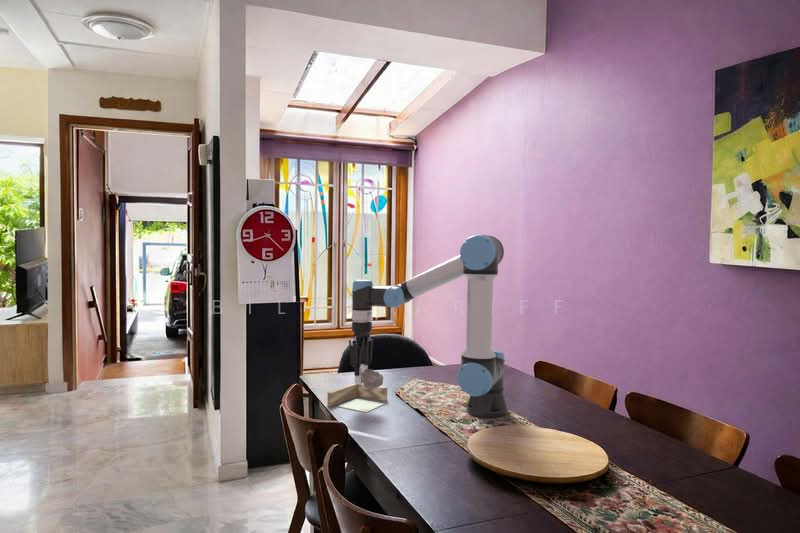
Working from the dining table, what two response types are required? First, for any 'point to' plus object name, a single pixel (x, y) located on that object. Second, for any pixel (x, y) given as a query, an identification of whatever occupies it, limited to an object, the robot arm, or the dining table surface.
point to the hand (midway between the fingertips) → (361, 382)
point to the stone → (371, 378)
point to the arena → (356, 393)
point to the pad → (361, 405)
